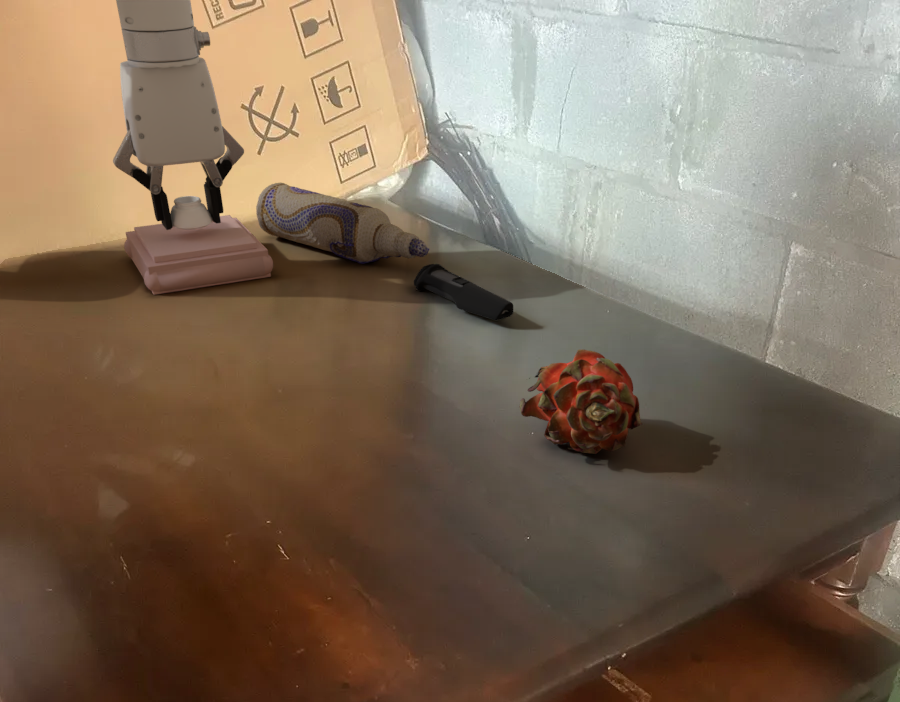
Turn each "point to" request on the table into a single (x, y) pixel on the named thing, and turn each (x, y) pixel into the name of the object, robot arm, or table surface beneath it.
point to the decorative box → (197, 255)
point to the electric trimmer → (463, 292)
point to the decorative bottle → (334, 225)
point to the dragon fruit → (585, 403)
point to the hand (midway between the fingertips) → (190, 221)
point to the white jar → (189, 213)
